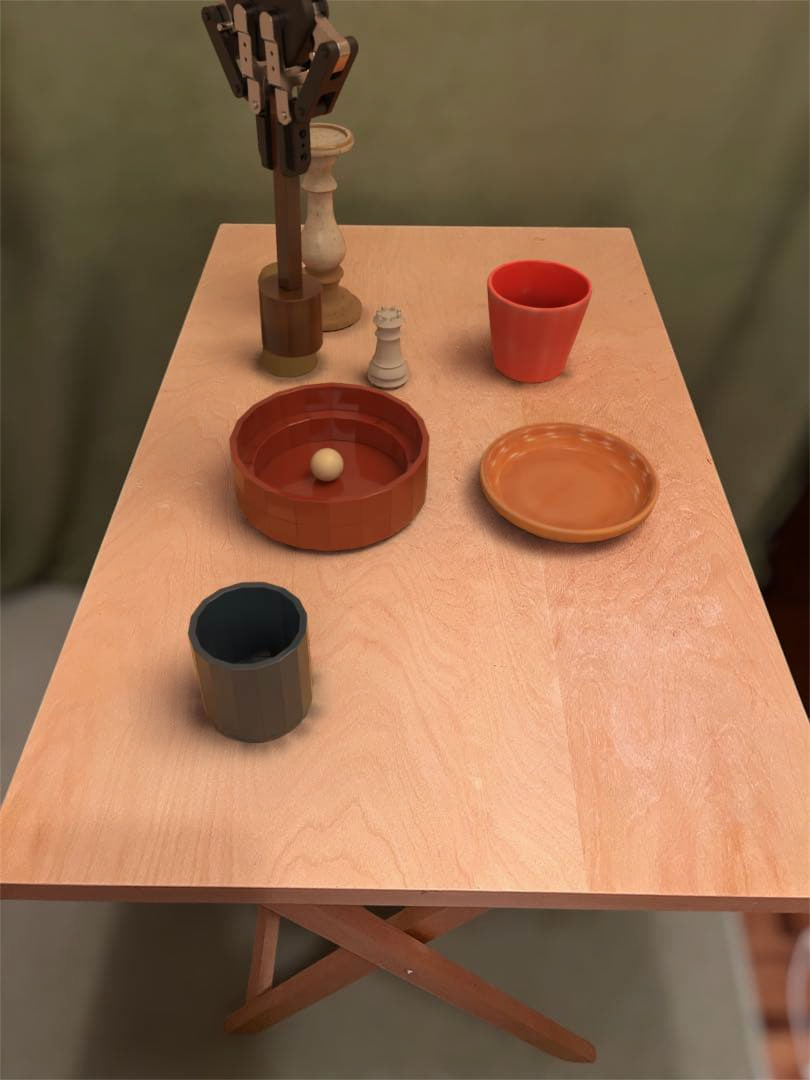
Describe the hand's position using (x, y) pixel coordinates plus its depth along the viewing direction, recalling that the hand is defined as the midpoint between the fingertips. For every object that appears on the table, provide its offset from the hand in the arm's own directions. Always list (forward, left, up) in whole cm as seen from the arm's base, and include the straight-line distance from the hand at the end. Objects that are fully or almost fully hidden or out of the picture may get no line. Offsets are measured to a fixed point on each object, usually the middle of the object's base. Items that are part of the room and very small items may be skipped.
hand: (285, 169), depth 66 cm
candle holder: (+22, +21, -28) cm, 41 cm away
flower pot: (+30, -3, -28) cm, 41 cm away
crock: (-20, -16, -28) cm, 38 cm away
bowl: (0, -3, -28) cm, 28 cm away
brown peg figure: (+12, +16, -28) cm, 34 cm away
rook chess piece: (+17, +6, -28) cm, 34 cm away
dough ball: (+1, -2, -26) cm, 26 cm away
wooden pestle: (0, 0, -14) cm, 14 cm away
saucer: (+14, -19, -28) cm, 37 cm away
